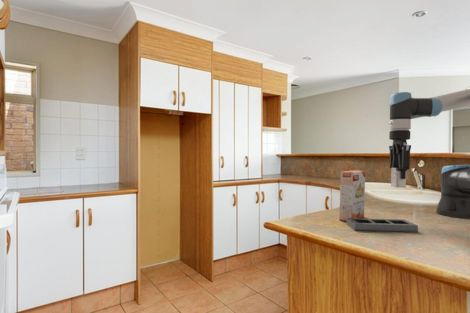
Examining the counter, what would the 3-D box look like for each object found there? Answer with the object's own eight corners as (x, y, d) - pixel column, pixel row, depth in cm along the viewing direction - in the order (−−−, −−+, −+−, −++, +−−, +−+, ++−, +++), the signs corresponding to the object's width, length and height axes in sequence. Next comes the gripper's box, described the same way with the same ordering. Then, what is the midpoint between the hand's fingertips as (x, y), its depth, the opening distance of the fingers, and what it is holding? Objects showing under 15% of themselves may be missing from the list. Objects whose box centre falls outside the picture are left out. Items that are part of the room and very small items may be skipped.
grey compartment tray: (404, 225, 107) (404, 219, 107) (417, 232, 98) (417, 225, 98) (346, 224, 108) (346, 218, 108) (354, 230, 100) (354, 223, 99)
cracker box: (353, 223, 111) (353, 172, 110) (338, 220, 115) (339, 171, 115) (365, 217, 121) (365, 170, 120) (351, 215, 125) (352, 169, 125)
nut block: (400, 186, 115) (401, 167, 115) (405, 187, 111) (406, 168, 111) (391, 186, 115) (391, 167, 115) (395, 187, 111) (396, 168, 111)
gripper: (381, 131, 122) (380, 183, 122) (400, 128, 105) (399, 188, 105) (399, 131, 121) (398, 184, 121) (421, 128, 104) (419, 189, 104)
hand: (398, 186), depth 113 cm, fingers closed on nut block, 4 cm apart
